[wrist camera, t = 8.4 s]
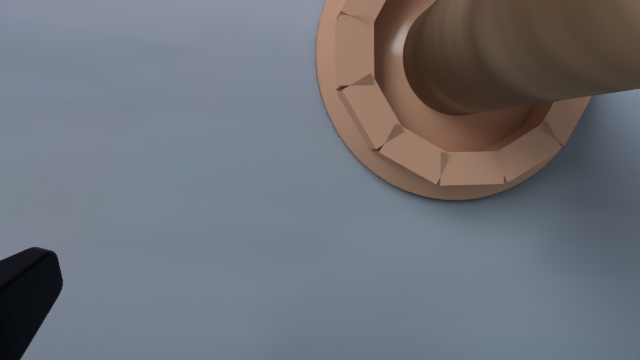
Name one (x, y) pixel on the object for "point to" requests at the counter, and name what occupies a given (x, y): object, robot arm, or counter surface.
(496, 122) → the collar dish
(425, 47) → the dowel
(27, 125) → the counter surface
